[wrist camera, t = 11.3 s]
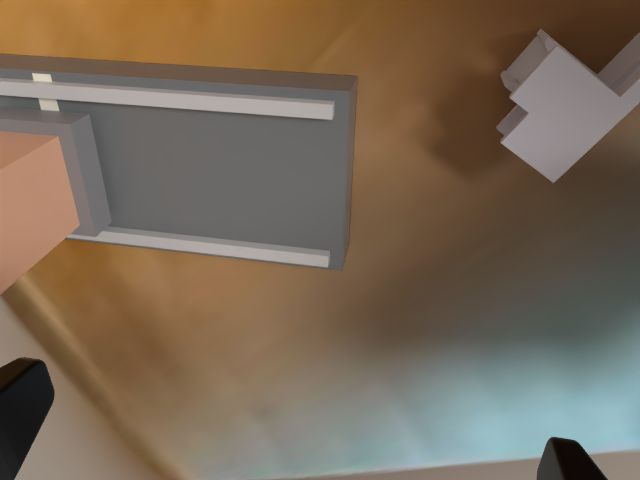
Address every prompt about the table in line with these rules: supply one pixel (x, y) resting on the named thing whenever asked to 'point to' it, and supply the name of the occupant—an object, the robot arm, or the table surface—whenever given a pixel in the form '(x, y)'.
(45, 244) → the fader
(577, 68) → the door handle
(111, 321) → the table surface
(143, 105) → the grey slider rail base
